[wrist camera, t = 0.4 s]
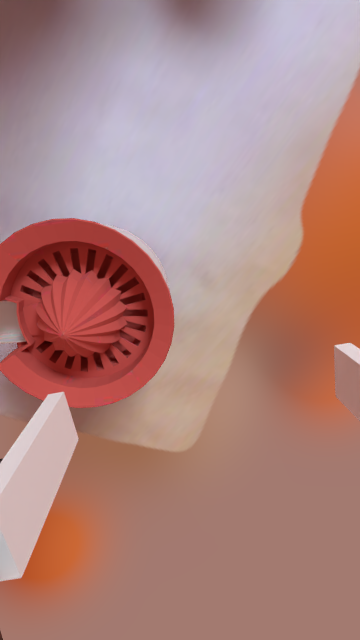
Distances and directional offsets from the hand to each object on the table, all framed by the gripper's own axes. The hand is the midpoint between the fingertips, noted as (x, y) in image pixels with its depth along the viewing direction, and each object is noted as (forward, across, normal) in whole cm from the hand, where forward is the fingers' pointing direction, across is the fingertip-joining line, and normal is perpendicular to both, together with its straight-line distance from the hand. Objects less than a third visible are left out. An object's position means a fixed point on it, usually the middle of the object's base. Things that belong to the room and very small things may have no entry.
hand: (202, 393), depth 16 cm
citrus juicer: (+28, -10, +2) cm, 30 cm away
